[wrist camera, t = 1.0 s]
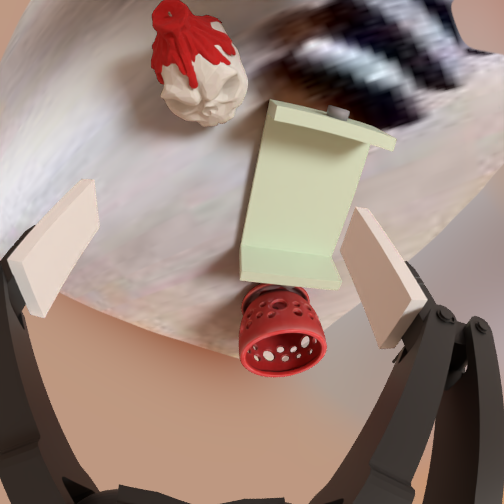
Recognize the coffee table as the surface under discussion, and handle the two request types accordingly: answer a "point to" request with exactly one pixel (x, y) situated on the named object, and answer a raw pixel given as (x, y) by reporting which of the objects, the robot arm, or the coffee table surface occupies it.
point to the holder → (303, 194)
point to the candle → (196, 65)
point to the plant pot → (279, 331)
